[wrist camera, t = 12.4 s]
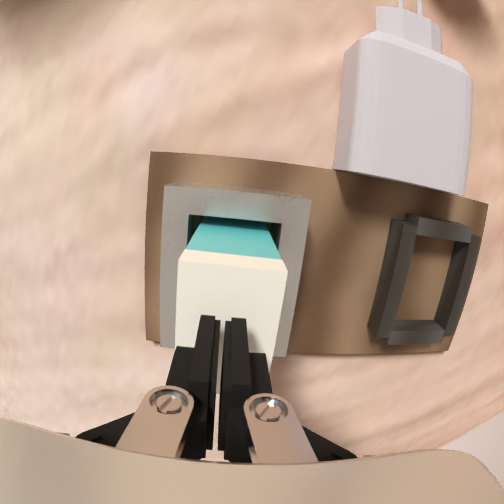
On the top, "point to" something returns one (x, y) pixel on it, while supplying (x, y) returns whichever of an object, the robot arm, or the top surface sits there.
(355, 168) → the charger
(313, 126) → the top surface
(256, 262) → the plug
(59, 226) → the top surface
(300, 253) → the frame
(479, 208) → the brown socket board
